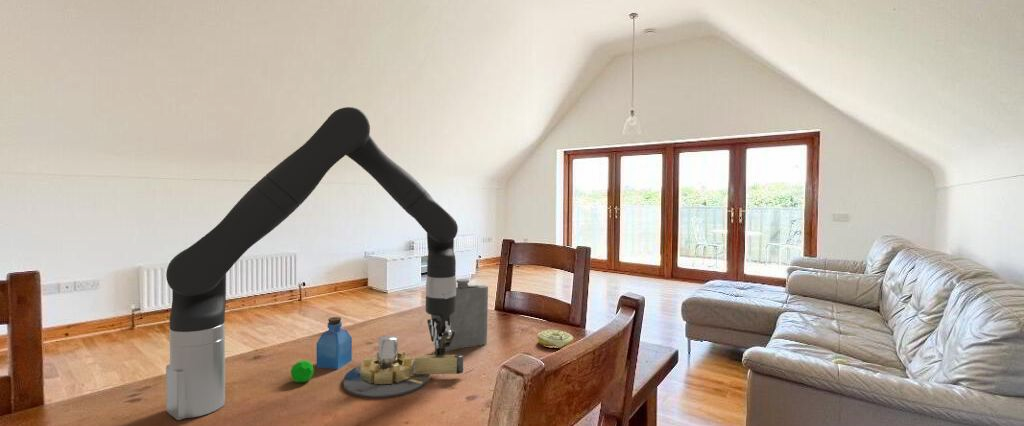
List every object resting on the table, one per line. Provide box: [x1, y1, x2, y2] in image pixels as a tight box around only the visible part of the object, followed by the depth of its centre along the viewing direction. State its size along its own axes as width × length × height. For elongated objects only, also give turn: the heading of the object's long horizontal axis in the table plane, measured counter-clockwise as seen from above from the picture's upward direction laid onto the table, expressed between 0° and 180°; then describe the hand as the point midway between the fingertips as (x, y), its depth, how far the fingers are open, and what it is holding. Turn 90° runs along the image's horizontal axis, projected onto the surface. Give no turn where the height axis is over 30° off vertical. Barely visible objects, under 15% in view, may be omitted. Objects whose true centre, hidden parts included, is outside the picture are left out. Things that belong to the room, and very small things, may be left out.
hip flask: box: [445, 278, 489, 353], centre depth 132 cm, size 16×4×20 cm, turn 121°
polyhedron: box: [290, 359, 315, 384], centre depth 106 cm, size 5×5×5 cm
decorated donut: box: [537, 329, 574, 350], centre depth 136 cm, size 10×11×4 cm
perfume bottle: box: [316, 316, 353, 370], centre depth 117 cm, size 6×6×12 cm
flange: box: [343, 334, 431, 399], centre depth 107 cm, size 20×20×10 cm
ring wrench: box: [360, 350, 464, 384], centre depth 108 cm, size 24×12×4 cm, turn 96°
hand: (440, 361), depth 112 cm, fingers closed
